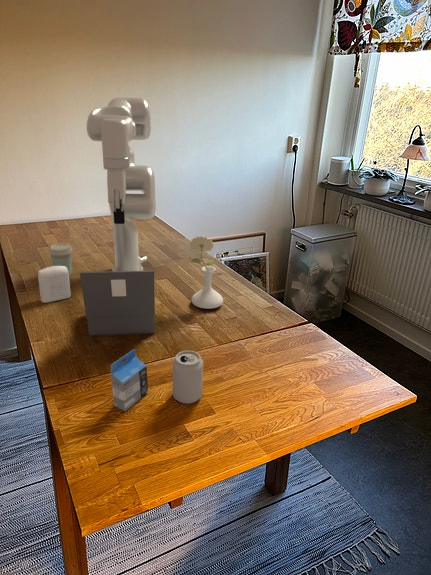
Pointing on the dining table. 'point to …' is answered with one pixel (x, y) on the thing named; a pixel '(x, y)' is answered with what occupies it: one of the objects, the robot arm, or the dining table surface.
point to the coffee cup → (61, 255)
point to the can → (187, 377)
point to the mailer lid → (118, 293)
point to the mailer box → (121, 325)
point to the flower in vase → (207, 295)
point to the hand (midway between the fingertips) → (119, 222)
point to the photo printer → (54, 283)
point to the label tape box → (128, 381)
